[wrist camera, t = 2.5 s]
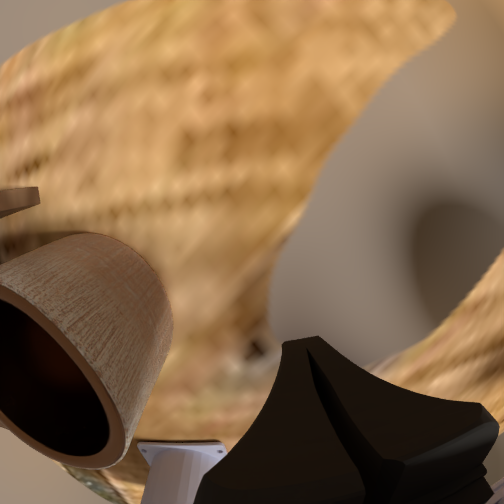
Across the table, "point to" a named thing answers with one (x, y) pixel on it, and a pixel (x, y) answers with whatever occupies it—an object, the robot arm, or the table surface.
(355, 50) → the table surface
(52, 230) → the table surface
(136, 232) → the table surface
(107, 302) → the planter
